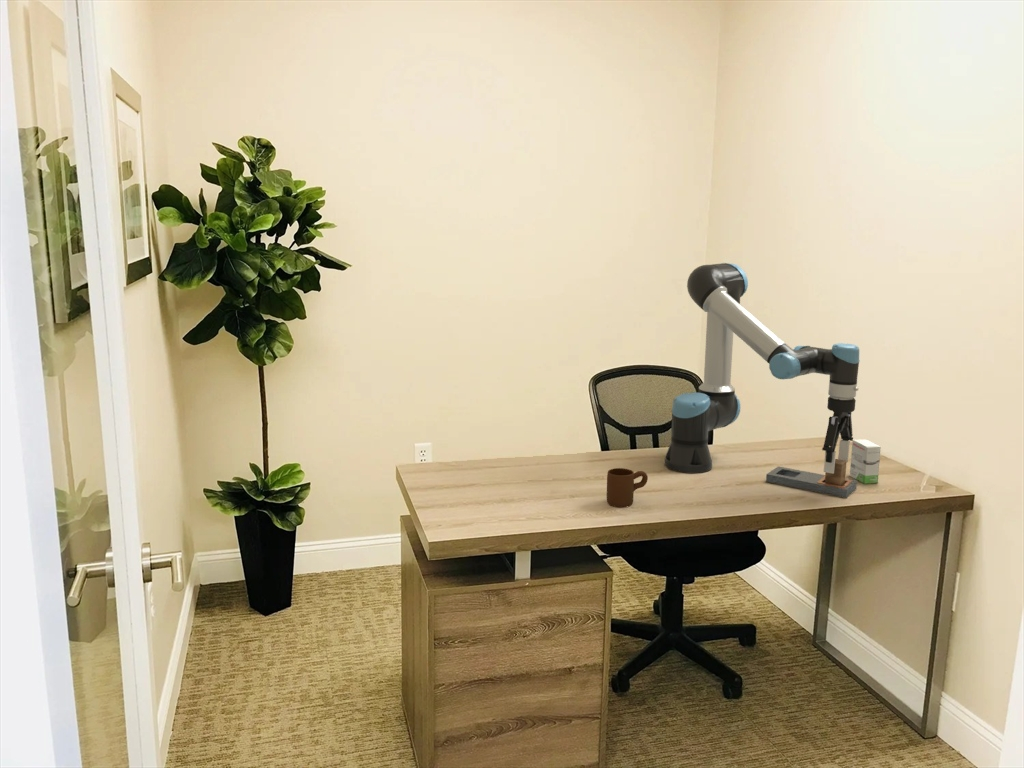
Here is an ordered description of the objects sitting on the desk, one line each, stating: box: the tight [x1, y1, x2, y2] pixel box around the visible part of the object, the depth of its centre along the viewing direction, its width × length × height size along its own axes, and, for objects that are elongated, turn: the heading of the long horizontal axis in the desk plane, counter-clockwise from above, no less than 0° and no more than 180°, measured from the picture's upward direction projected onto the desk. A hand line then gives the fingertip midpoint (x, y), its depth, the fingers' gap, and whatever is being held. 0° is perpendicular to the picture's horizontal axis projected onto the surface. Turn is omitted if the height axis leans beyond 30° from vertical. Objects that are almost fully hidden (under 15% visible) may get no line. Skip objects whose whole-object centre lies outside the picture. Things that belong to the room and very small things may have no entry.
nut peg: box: [824, 458, 848, 486], centre depth 253 cm, size 4×4×9 cm
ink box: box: [849, 439, 881, 485], centre depth 263 cm, size 9×5×12 cm, turn 9°
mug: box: [606, 467, 649, 508], centre depth 242 cm, size 12×8×9 cm, turn 104°
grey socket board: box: [765, 466, 858, 499], centre depth 258 cm, size 24×10×3 cm, turn 53°
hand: (836, 466), depth 252 cm, fingers open, 13 cm apart
